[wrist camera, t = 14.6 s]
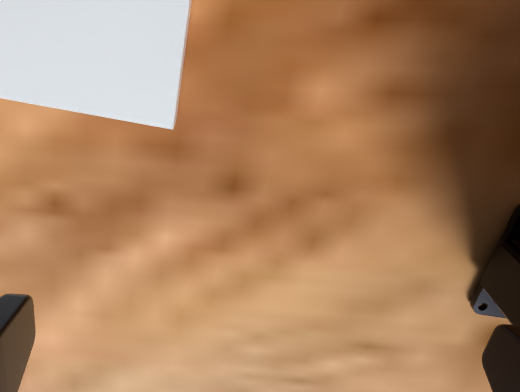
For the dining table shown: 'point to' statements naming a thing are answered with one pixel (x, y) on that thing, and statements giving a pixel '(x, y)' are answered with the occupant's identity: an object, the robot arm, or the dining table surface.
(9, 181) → the dining table surface
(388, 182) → the dining table surface
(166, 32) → the ceramic tile
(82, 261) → the dining table surface
